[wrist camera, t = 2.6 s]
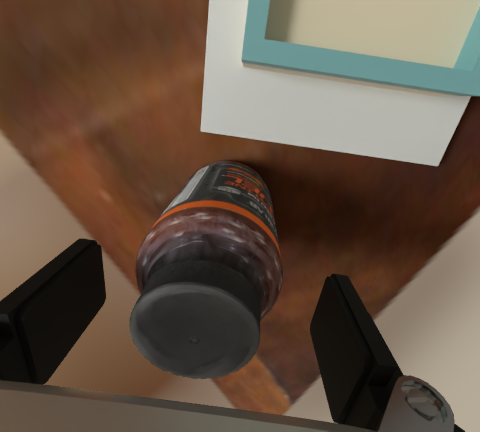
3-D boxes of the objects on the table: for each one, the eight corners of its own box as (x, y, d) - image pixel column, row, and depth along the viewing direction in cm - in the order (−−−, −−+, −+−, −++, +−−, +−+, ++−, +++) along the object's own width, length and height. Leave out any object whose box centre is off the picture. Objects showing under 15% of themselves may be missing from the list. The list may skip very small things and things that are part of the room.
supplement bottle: (288, 191, 17) (341, 330, 7) (238, 251, 20) (223, 421, 9) (215, 138, 16) (152, 214, 6) (169, 208, 18) (65, 352, 8)
